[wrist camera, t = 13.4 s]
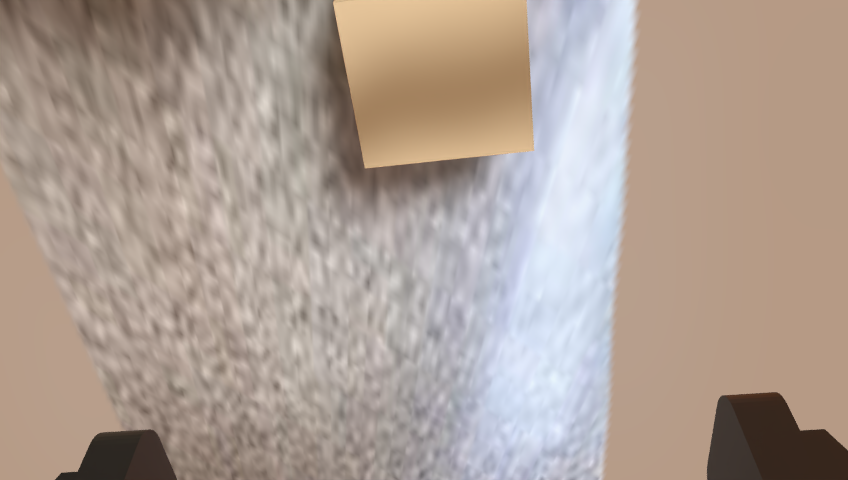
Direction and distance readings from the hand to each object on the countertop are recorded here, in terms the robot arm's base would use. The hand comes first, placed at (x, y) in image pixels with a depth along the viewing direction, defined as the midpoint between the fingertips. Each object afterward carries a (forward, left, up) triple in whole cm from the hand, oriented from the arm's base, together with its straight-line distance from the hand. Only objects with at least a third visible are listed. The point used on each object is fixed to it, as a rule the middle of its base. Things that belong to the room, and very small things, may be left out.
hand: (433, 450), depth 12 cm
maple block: (0, 0, -18) cm, 18 cm away
